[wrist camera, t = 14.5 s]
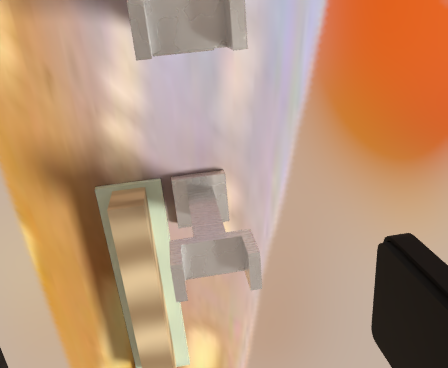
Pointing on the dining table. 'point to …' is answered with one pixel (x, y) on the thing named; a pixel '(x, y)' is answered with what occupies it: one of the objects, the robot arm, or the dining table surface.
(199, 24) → the post
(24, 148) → the dining table surface
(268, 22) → the dining table surface
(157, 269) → the rail
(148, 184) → the mat
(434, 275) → the robot arm
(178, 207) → the post
